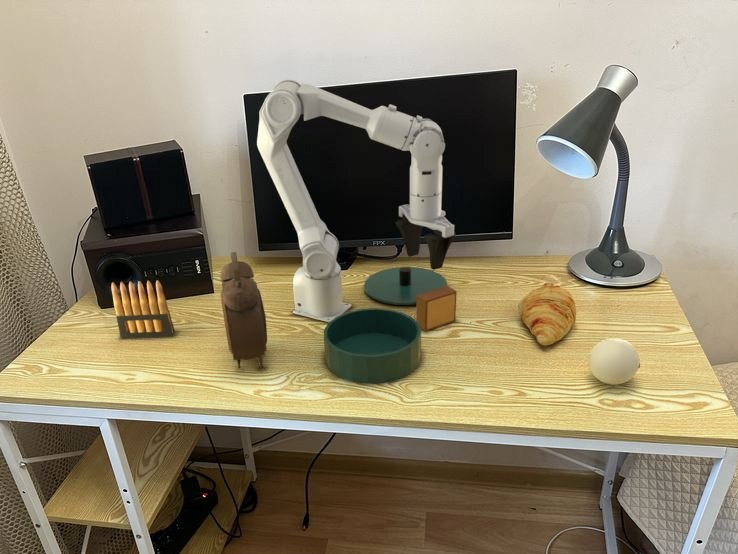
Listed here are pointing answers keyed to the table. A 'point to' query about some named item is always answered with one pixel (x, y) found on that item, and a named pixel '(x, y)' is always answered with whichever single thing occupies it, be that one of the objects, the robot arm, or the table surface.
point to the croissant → (548, 313)
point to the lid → (402, 284)
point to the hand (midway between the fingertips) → (424, 261)
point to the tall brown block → (436, 308)
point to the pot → (372, 345)
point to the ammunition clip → (142, 312)
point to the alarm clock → (243, 312)
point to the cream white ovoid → (614, 361)
